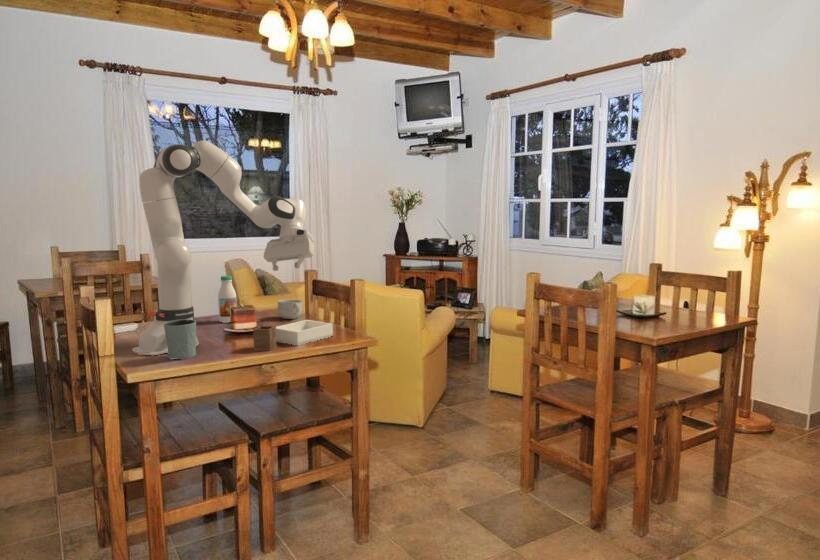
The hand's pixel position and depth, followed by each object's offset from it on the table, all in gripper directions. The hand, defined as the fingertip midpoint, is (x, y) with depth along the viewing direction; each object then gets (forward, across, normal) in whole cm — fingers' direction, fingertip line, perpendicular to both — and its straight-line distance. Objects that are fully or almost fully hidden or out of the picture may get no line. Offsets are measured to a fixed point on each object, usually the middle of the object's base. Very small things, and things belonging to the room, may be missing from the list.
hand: (286, 269), depth 226 cm
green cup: (+39, -24, -17) cm, 49 cm away
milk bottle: (+7, -44, +28) cm, 52 cm away
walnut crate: (+32, -3, 0) cm, 32 cm away
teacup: (+2, -20, +41) cm, 46 cm away
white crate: (+23, +3, +14) cm, 27 cm away
